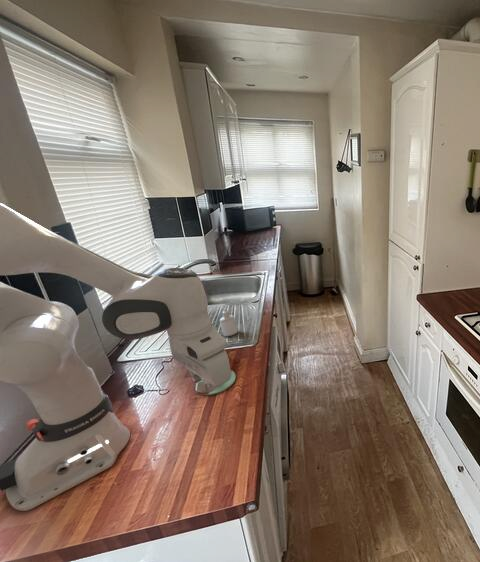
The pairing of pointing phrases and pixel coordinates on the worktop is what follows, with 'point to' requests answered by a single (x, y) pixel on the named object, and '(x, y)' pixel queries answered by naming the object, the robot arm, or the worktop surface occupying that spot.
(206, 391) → the pale grey pebble
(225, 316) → the eye dropper bottle
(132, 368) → the worktop surface
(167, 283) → the robot arm
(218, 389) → the lid
